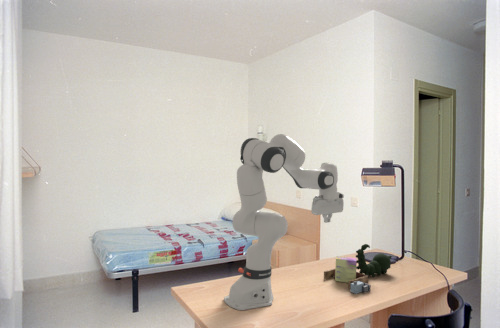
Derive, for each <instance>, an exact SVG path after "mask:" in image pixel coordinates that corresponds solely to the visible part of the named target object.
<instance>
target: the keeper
mask: <svg viewBox="0 0 500 328" xmlns="http://www.w3.org/2000/svg"><path fill="white" fill-rule="evenodd" d="M360 282H361V281H360ZM363 283H364V282H363ZM368 292H371V284H369V283H368V284H366V283H364V286H363V287H362V292H361V293H362V294H367V293H368Z"/></svg>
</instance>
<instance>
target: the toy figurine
mask: <svg viewBox="0 0 500 328" xmlns="http://www.w3.org/2000/svg"><path fill="white" fill-rule="evenodd" d="M367 248H368V249H370V248H371V246H370V244H367V243H365V244H363V245H361V247H360V248H359V249H358V250H356V251H355V253H356V254H355V258H356V260H357V264H358V265H356V270H359V273H362V274H365V275H367V276H368V277H369V276H370V277H371V278H374V277H376V275H377V276H381V275H382V274H387V272H388V270H389V269H391V264H392V262H391V259H392V257H393V256H392V255H387V254H385V253H377V254H375V255H374V256H373V258H372V260H371V261H369V263H367V261H366V256H365V250H366V249H367Z"/></svg>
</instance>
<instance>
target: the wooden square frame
mask: <svg viewBox="0 0 500 328" xmlns="http://www.w3.org/2000/svg"><path fill="white" fill-rule="evenodd" d="M332 278H335V268H332V269H329V270H324V271H323V280H328V279H332ZM354 281H361V282H364V283H366V284H369V275H368V276H367V275H365V274H364V273H363V274H362V273H359V272H358V271H356V279H353V280H350V281H349V283H348V290H351V283H354Z"/></svg>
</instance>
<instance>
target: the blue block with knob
mask: <svg viewBox="0 0 500 328" xmlns="http://www.w3.org/2000/svg"><path fill="white" fill-rule="evenodd" d="M363 286H364V283H363V282H360V281H354V283H351V290H350V289H349V290H350V293H352V294H355V295H356V294H359V293H362V287H363Z"/></svg>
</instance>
